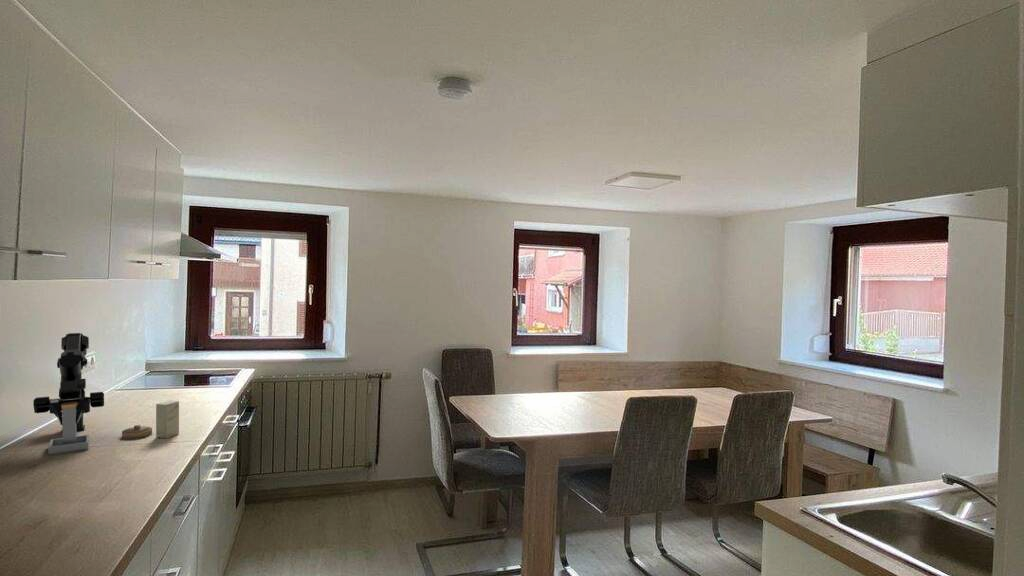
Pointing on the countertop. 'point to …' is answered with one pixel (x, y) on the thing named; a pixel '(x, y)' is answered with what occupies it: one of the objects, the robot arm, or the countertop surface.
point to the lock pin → (69, 422)
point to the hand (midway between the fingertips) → (69, 423)
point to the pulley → (136, 432)
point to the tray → (68, 445)
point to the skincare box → (167, 419)
